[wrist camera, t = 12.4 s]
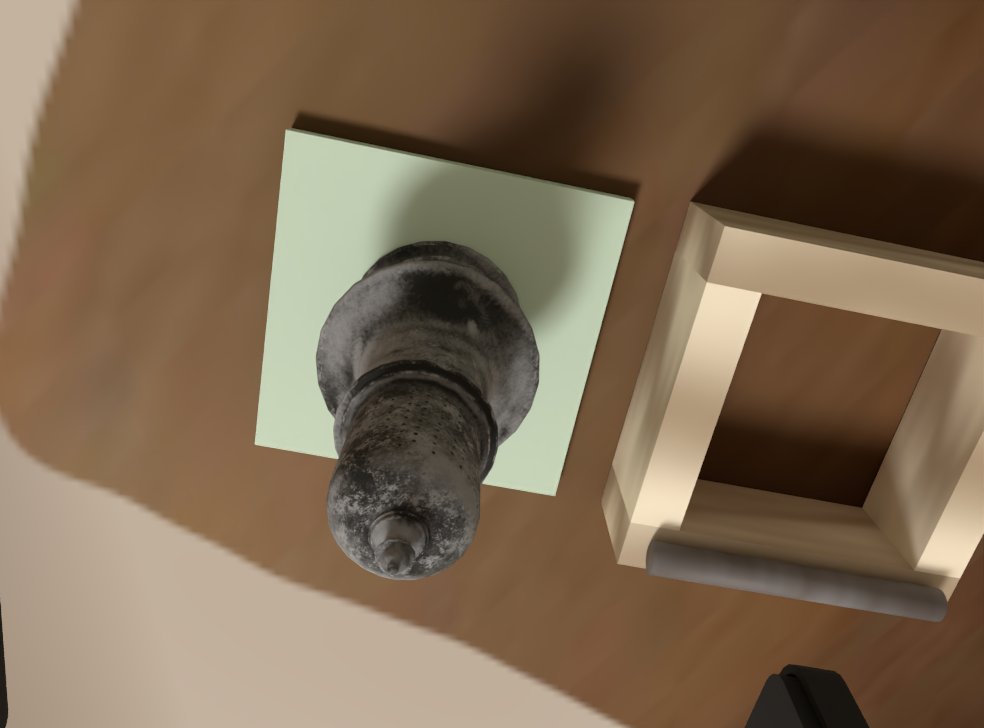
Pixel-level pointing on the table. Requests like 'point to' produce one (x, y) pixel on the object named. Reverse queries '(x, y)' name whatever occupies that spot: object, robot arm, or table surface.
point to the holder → (785, 518)
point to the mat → (435, 217)
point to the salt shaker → (421, 403)
